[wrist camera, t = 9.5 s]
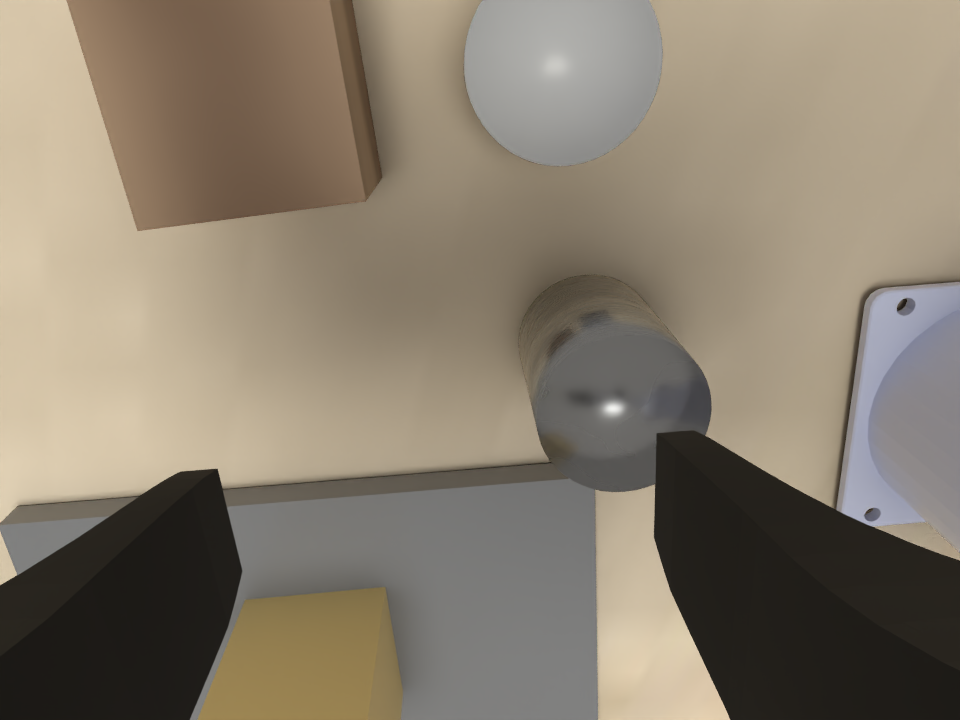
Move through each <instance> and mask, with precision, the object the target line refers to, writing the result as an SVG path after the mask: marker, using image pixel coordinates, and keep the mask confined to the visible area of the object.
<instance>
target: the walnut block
mask: <svg viewBox="0 0 960 720" xmlns="http://www.w3.org/2000/svg"><path fill="white" fill-rule="evenodd" d="M67 3H68V6H69V10H70V13H71V16H72V19H73V23H74V26H75V29H76V32H77V36H78V39H79V42H80V45H81V49H82V52H83V55H84V58H85V62H86V65H87V68H88V71H89V75H90V78H91V81H92V84H93V88H94V91H95V94H96V97H97V101H98V104H99V107H100V110H101V114H102V117H103V120H104V123H105V127H106V130H107V133H108V136H109V140H110V143H111V146H112V149H113V153H114V156H115V159H116V162H117V166H118V169H119V172H120V175H121V179H122V182H123V185H124V188H125V192H126V195H127V198H128V201H129V205H130V208H131V211H132V214H133V218H134V221H135V224H136V227H137V231H141V230H149V229H157V228H164V227H172V226H180V225H187V224H195V223H203V222H210V221H218V220H226V219H233V218H241V217H249V216H256V215H264V214H272V213H279V212H287V211H295V210H302V209H310V208H318V207H325V206H333V205H341V204H348V203H356V202H364V201H366V200H367V199H368V197H369V196H370V194H371V193H372V192H373V190H374V189H375V187H376V186H377V184H378V183H379V181H380V180H381V178H382V173H381V167H380V161H379V156H378V150H377V144H376V138H375V132H374V126H373V120H372V115H371V109H370V103H369V97H368V91H367V85H366V79H365V74H364V68H363V62H362V56H361V50H360V44H359V38H358V33H357V27H356V21H355V15H354V9H353V3H352V0H67Z"/></svg>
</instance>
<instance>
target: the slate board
mask: <svg viewBox="0 0 960 720" xmlns="http://www.w3.org/2000/svg"><path fill="white" fill-rule="evenodd" d="M223 493H224V497H225V501H226V506H227V510H228V514H229V518H230V522H231V526H232V530H233V534H234V538H235V542H236V546H237V550H238V555H239V559H240V563H241V567H242V575H241V580H240V584H239V588H238V592H237V596H236V600H235V604H234V608H233V611H232V615H231V619H230V622H229V626H228V629H227V631H226V634H225V636H224V639H223V641H222V644H221V646H220V649H219V651H218V653H217V656H216V658H215V661H214V663H213V666H212V668H211V670H210V673H209V675H208V678H207V680H206V682H205V685H204V687H203V690H202V692H201V694H200V697H199V699H198V701H197V704H196V706H195V708H194V711H193V713H192V716H191V718H190V720H197V719H198V717H199V714H200V712H201V709H202V707H203V704H204V702H205V699H206V697H207V694H208V692H209V689H210V687H211V684H212V682H213V679H214V677H215V674H216V672H217V669H218V667H219V664H220V662H221V659H222V657H223V654H224V652H225V649H226V647H227V644H228V642H229V639H230V637H231V634H232V632H233V629H234V626H235V624H236V621H237V619H238V616H239V614H240V611H241V609H242V606H243V604H244V601H245V600H249V599H260V598H271V597H281V596H292V595H303V594H314V593H325V592H336V591H347V590H357V589H368V588H379V587H385V588H386V594H387V600H388V606H389V612H390V618H391V624H392V630H393V635H394V641H395V647H396V653H397V659H398V665H399V671H400V677H401V683H402V689H403V699H402V711H401V720H598V689H597V617H596V544H595V489H591V488H588V487H585V486H582V485H580V484H578V483H576V482H574V481H572V480H571V479H569V478H568V477H566V476H565V475H563V474H562V473H561V472H560V471H559V470H558V469H557V468H556V467H555V466H554V465H553V464H552V463H546V464H534V465H521V466H509V467H497V468H484V469H472V470H460V471H448V472H435V473H423V474H411V475H398V476H386V477H374V478H361V479H349V480H337V481H325V482H312V483H300V484H288V485H275V486H263V487H251V488H239V489H226V490H223ZM136 498H138V497H128V498H116V499H103V500H91V501H79V502H66V503H54V504H42V505H29V506H17V507H16V508H15V509H14V510H13V511H12V512H11V513H10V514H9V515H8V516H7V517H6V518H5V519H4V520H3V521H2V522H1V523H0V532H1V534H2V537H3V539H4V542H5V544H6V547H7V549H8V552H9V554H10V557H11V560H12V562H13V565H14V567H15V570H16V572H17V575H19V574H20V573H22V572H24V571H25V570H27V569H28V568H30V567H32V566H33V565H35V564H36V563H38V562H40V561H41V560H43V559H44V558H46V557H48V556H49V555H51V554H52V553H54V552H56V551H57V550H59V549H60V548H62V547H64V546H65V545H67V544H68V543H70V542H72V541H73V540H75V539H76V538H78V537H79V536H81V535H82V534H84V533H85V532H87V531H88V530H90V529H91V528H93V527H94V526H96V525H97V524H99V523H100V522H102V521H103V520H105V519H106V518H108V517H109V516H111V515H112V514H114V513H115V512H117V511H118V510H120V509H121V508H123V507H124V506H126V505H127V504H129V503H130V502H132V501H133V500H135V499H136Z"/></svg>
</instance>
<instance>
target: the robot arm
mask: <svg viewBox="0 0 960 720" xmlns="http://www.w3.org/2000/svg"><path fill="white" fill-rule="evenodd" d="M905 298H907V303H906V306H905V307H904V308H903V309H902V310H900V311H897V306H898V303H899V302H900V301H901V300H902V299H905ZM870 508H873V510H872V511H871V512H870V513H868V514H865V513H866V511H867V510H869V509H870ZM921 522H928V523H929V524H930V525H931V526H932V527H933V528H934V529H935V530H936V531H937V532H938V533H939V534H940V535H941V536H942V537H943V538H945V539H946V540H947V541H948V542H949V543H950V544H951V545H952V546H953V547H954V548H955V549H956V550H957V551H958V552H959V553H960V282H950V283H938V284H925V285H913V286H900V287H888V288H882V289H878V290H876V291H874V292H873V293H871V294H870V296H869V297H868V298H867V300H866V303H865V306H864V312H863V320H862V327H861V334H860V341H859V349H858V356H857V363H856V370H855V378H854V385H853V392H852V399H851V407H850V414H849V421H848V428H847V436H846V443H845V450H844V457H843V465H842V472H841V479H840V486H839V494H838V501H837V508H836V510H835V509H833V508H831V507H829V506H828V505H826V504H824V503H822V502H820V501H818V500H816V499H814V498H812V497H810V496H808V495H806V494H804V493H802V492H801V491H799V490H797V489H795V488H793V487H791V486H790V485H788V484H786V483H784V482H783V481H781V480H779V479H777V478H776V477H774V476H772V475H770V474H769V473H767V472H765V471H764V470H762V469H760V468H758V467H757V466H755V465H753V464H752V463H750V462H748V461H747V460H745V459H743V458H742V457H740V456H738V455H737V454H735V453H734V452H732V451H730V450H729V449H727V448H725V447H724V446H722V445H720V444H719V443H717V442H715V441H713V440H712V439H710V438H708V437H706V436H705V435H703V434H701V433H699V432H697V431H695V430H689V431H677V432H664V433H657V436H656V478H655V520H654V539H655V542H656V545H657V549H658V552H659V556H660V559H661V562H662V566H663V569H664V572H665V575H666V578H667V581H668V584H669V587H670V590H671V592H672V595H673V597H674V599H675V601H676V604H677V606H678V608H679V610H680V612H681V614H682V617H683V619H684V621H685V623H686V625H687V627H688V630H689V632H690V634H691V636H692V638H693V640H694V642H695V645H696V647H697V649H698V651H699V653H700V655H701V657H702V659H703V662H704V664H705V666H706V668H707V670H708V672H709V674H710V676H711V679H712V681H713V683H714V685H715V687H716V689H717V691H718V693H719V696H720V698H721V700H722V702H723V704H724V706H725V708H726V710H727V713H728V715H729V718H730V720H960V561H959V560H956V559H953V558H950V557H947V556H944V555H941V554H939V553H936V552H933V551H931V550H928V549H925V548H923V547H920V546H917V545H915V544H912V543H910V542H907V541H905V540H903V539H900V538H898V537H895V536H893V535H891V534H888V533H886V532H883V531H881V530H879V529H876V528H874V527H872V526H885V525H897V524H909V523H921ZM241 575H242V567H241V563H240V559H239V555H238V550H237V546H236V542H235V538H234V534H233V530H232V526H231V522H230V518H229V514H228V510H227V506H226V501H225V497H224V493H223V489H222V485H221V481H220V477H219V473H218V469H208V470H196V471H184V472H179V473H177V474H175V475H173V476H171V477H169V478H168V479H166V480H164V481H163V482H161V483H159V484H158V485H156V486H155V487H153V488H151V489H150V490H148V491H147V492H145V493H144V494H142V495H141V496H139V497H138V498H136V499H135V500H133V501H132V502H130V503H129V504H127V505H126V506H124V507H123V508H121V509H120V510H118V511H117V512H115V513H114V514H112V515H111V516H109V517H108V518H106V519H105V520H103V521H102V522H100V523H99V524H97V525H96V526H94V527H93V528H91V529H90V530H88V531H87V532H85V533H84V534H82V535H81V536H79V537H78V538H76V539H75V540H73V541H72V542H70V543H68V544H67V545H65V546H64V547H62V548H60V549H59V550H57V551H56V552H54V553H52V554H51V555H49V556H48V557H46V558H44V559H43V560H41V561H40V562H38V563H36V564H35V565H33V566H32V567H30V568H28V569H27V570H25V571H24V572H22V573H20V574H19V575H17V576H15V577H14V578H12V579H10V580H9V581H7V582H5V583H3V584H2V585H0V720H190V718H191V716H192V713H193V711H194V708H195V706H196V704H197V701H198V699H199V697H200V694H201V692H202V690H203V687H204V685H205V682H206V680H207V678H208V675H209V673H210V670H211V668H212V666H213V663H214V661H215V658H216V656H217V653H218V651H219V649H220V646H221V644H222V641H223V639H224V636H225V634H226V631H227V629H228V626H229V622H230V619H231V615H232V611H233V608H234V604H235V600H236V596H237V592H238V588H239V584H240V580H241Z"/></svg>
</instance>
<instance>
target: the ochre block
mask: <svg viewBox="0 0 960 720" xmlns="http://www.w3.org/2000/svg"><path fill="white" fill-rule="evenodd" d="M402 699H403V689H402V683H401V677H400V671H399V665H398V659H397V653H396V647H395V641H394V635H393V630H392V624H391V618H390V612H389V606H388V600H387V594H386V588H385V587H379V588H368V589H357V590H347V591H336V592H325V593H314V594H303V595H292V596H281V597H271V598H260V599H249V600H245V601H244V604H243V606H242V609H241V611H240V614H239V616H238V619H237V621H236V624H235V626H234V629H233V632H232V634H231V637H230V639H229V642H228V644H227V647H226V649H225V652H224V654H223V657H222V659H221V662H220V664H219V667H218V669H217V672H216V674H215V677H214V679H213V682H212V684H211V687H210V689H209V692H208V694H207V697H206V699H205V702H204V704H203V707H202V709H201V712H200V714H199V717H198V719H197V720H401V711H402Z"/></svg>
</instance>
